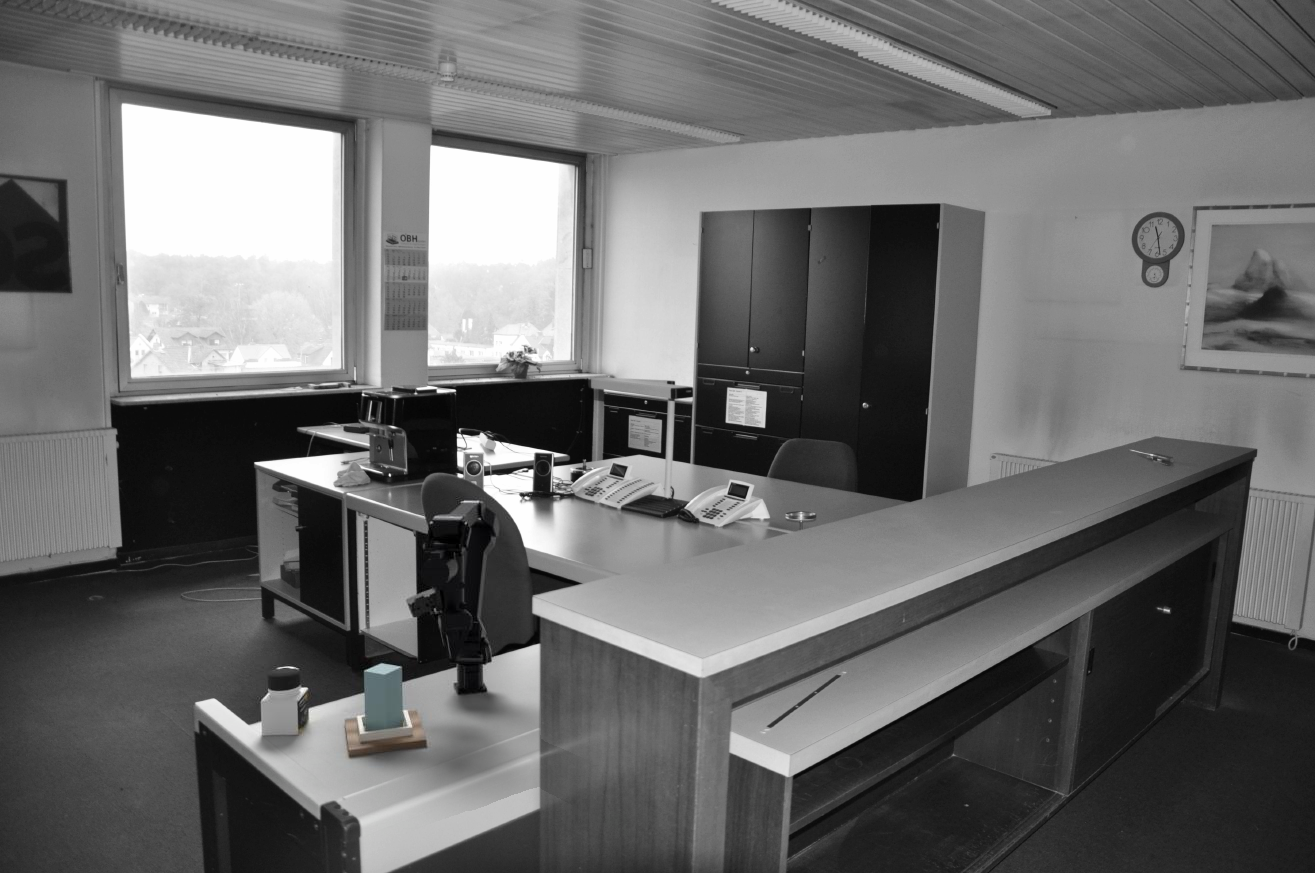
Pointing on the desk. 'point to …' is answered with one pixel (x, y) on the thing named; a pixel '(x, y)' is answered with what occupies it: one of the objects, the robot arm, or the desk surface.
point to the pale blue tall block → (383, 697)
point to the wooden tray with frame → (384, 735)
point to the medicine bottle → (284, 703)
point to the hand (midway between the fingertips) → (450, 652)
